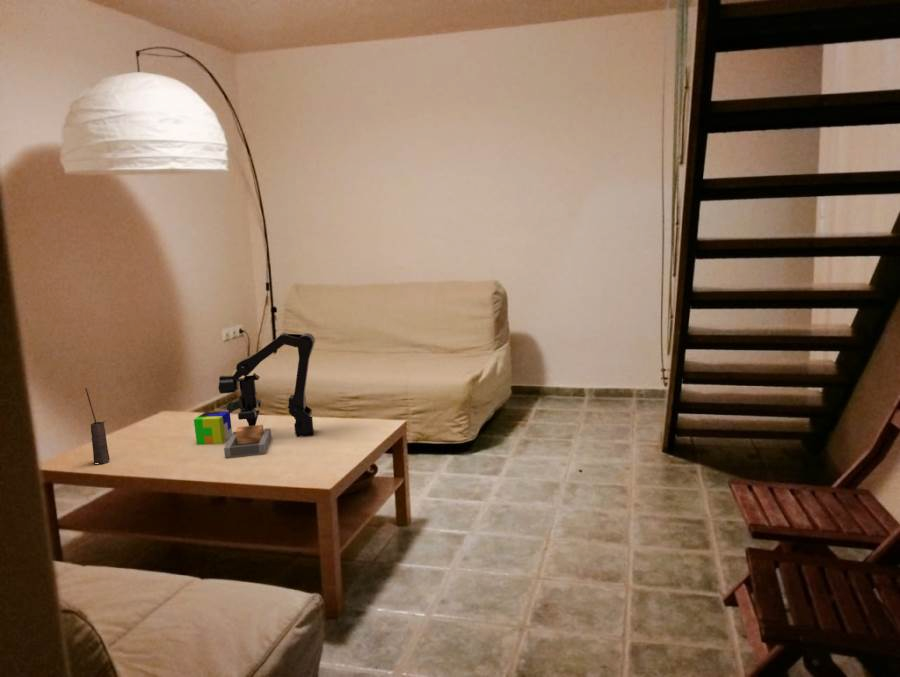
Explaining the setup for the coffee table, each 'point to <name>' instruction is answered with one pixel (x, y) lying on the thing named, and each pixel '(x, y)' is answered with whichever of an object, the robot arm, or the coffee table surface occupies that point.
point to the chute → (247, 446)
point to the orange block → (249, 434)
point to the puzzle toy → (213, 427)
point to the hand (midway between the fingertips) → (252, 430)
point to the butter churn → (98, 439)
